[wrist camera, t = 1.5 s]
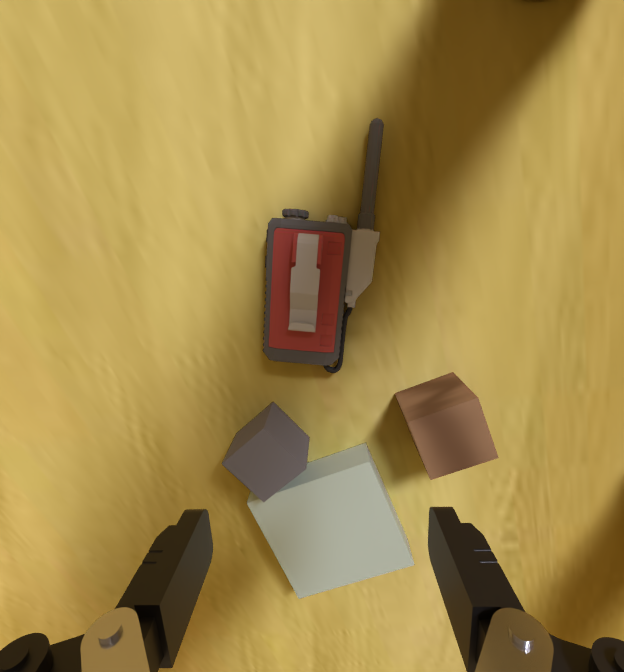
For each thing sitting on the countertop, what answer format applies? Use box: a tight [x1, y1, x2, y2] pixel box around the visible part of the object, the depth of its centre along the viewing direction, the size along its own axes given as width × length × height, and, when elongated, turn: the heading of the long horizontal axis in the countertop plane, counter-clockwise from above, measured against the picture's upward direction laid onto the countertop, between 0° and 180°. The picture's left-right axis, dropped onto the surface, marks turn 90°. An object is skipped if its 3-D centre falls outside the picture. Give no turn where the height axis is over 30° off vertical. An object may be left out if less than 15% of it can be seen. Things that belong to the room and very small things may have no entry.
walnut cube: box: [395, 372, 498, 480], centre depth 30 cm, size 6×6×6 cm
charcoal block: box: [222, 402, 309, 502], centre depth 32 cm, size 5×5×5 cm
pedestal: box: [247, 443, 414, 599], centre depth 34 cm, size 12×12×3 cm
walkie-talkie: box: [263, 118, 384, 373], centre depth 28 cm, size 9×4×20 cm
